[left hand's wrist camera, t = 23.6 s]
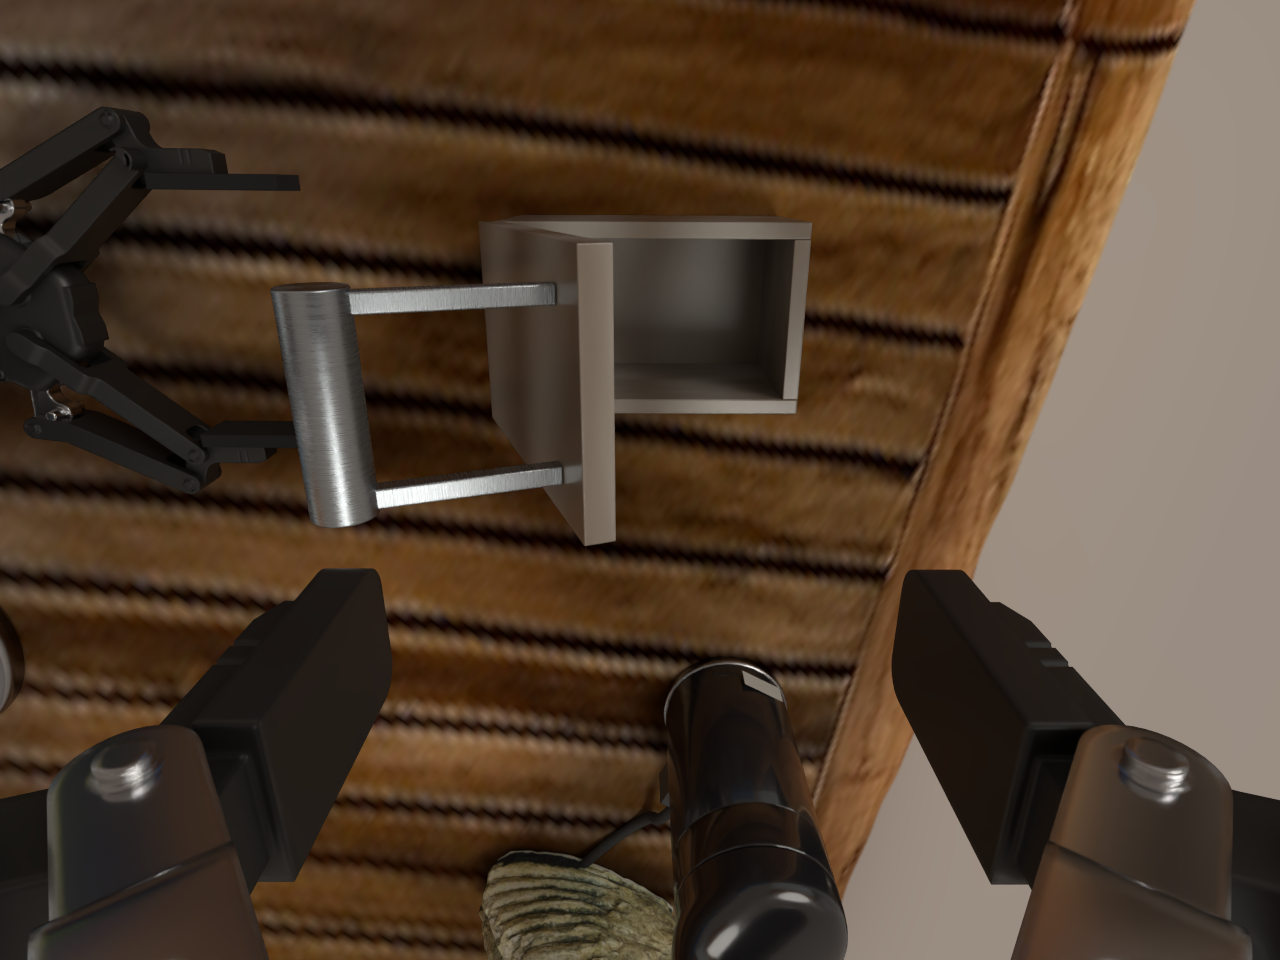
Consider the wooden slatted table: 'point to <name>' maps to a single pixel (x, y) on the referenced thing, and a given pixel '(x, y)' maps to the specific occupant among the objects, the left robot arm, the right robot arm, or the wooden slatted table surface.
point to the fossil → (570, 912)
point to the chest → (702, 309)
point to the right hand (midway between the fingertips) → (309, 316)
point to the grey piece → (518, 368)
